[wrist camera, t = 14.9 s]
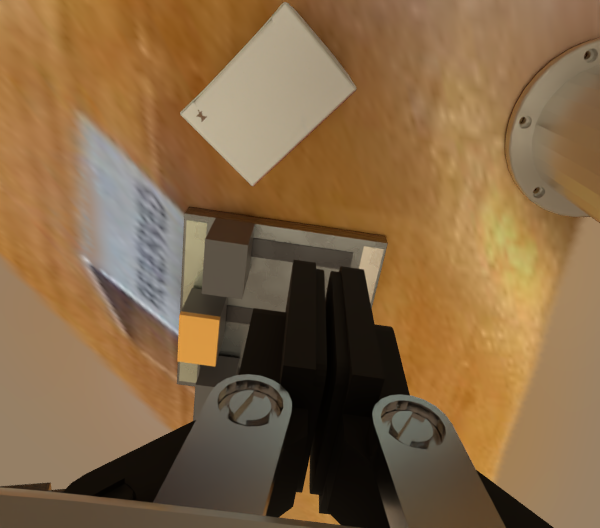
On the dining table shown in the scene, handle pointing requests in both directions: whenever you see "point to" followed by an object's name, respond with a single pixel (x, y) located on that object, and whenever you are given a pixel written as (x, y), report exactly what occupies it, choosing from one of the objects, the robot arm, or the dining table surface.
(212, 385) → the block
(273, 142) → the small box
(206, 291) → the breaker
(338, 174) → the dining table surface
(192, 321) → the block
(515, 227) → the dining table surface
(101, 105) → the dining table surface
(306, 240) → the panel
